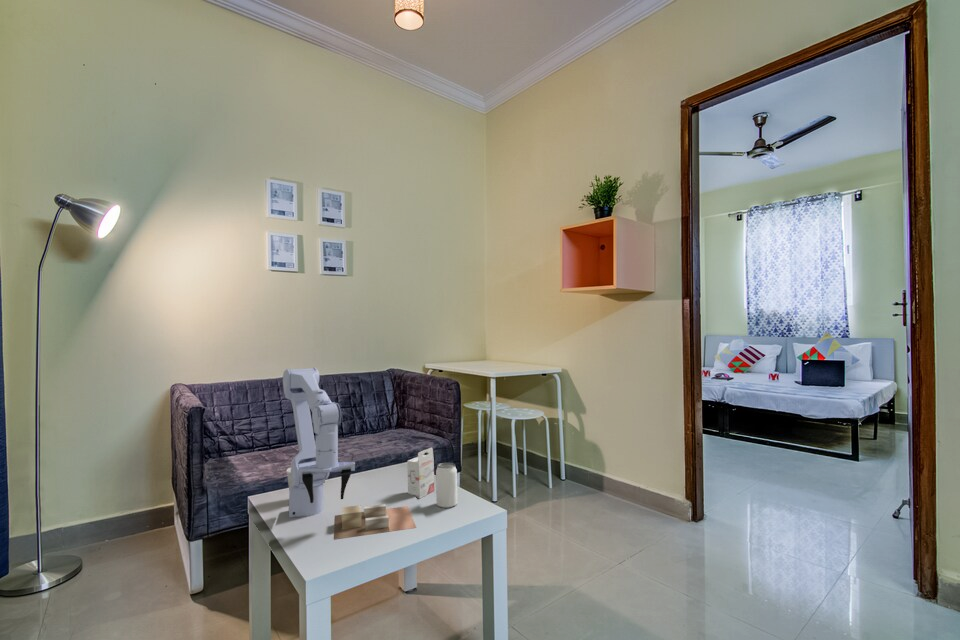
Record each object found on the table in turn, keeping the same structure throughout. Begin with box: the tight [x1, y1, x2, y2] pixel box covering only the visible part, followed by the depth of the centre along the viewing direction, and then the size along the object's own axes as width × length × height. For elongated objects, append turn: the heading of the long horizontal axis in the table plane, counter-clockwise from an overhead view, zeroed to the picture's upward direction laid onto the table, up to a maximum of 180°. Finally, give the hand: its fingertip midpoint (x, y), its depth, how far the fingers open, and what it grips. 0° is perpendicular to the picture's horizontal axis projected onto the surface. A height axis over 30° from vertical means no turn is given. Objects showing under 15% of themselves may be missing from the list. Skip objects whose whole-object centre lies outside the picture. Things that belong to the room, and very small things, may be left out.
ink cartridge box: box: [406, 446, 435, 499], centre depth 148 cm, size 9×5×15 cm, turn 151°
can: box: [435, 462, 458, 509], centre depth 138 cm, size 6×6×12 cm
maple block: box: [341, 504, 362, 529], centre depth 122 cm, size 5×5×4 cm
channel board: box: [333, 503, 417, 541], centre depth 124 cm, size 21×16×4 cm
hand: (327, 499), depth 120 cm, fingers open, 7 cm apart
